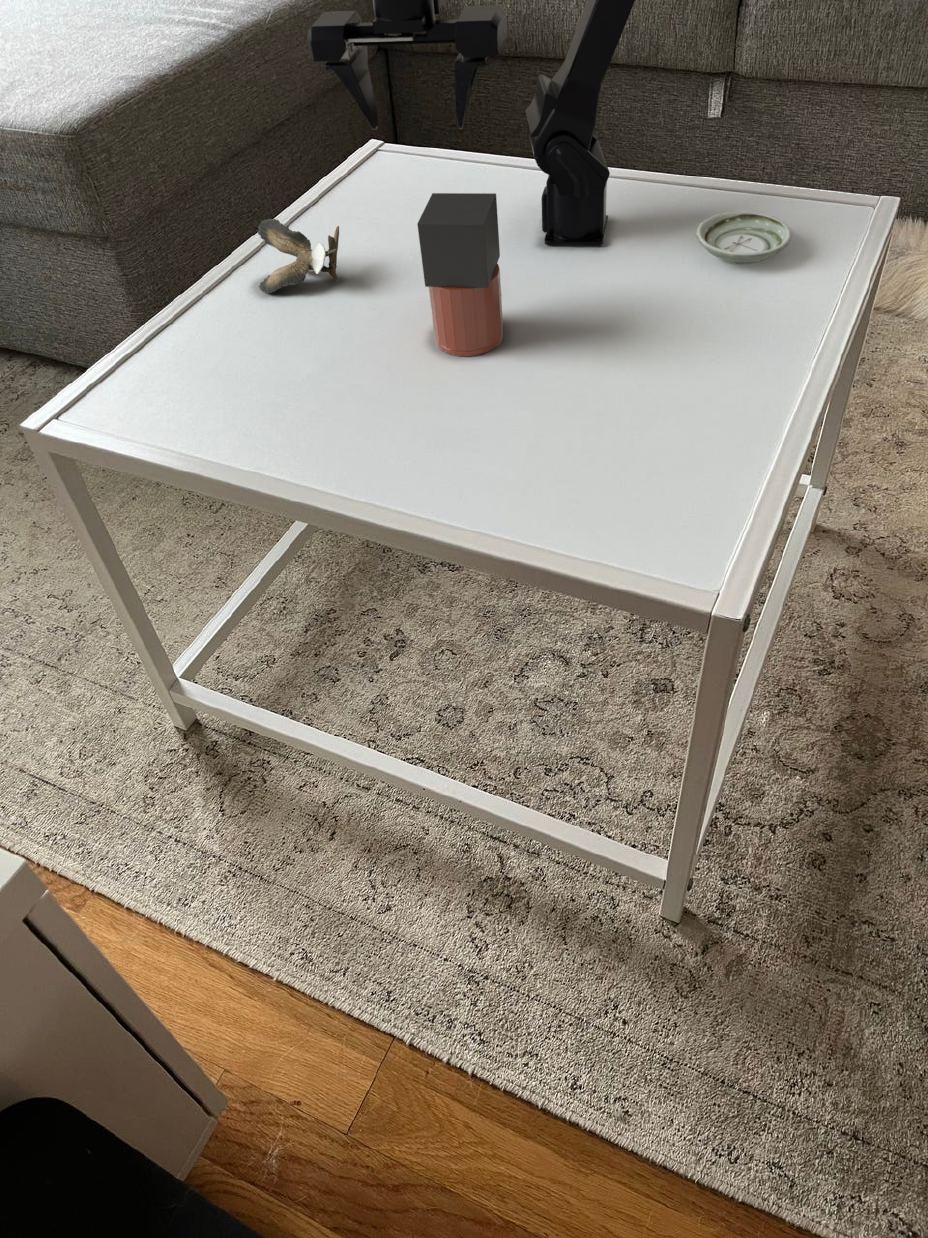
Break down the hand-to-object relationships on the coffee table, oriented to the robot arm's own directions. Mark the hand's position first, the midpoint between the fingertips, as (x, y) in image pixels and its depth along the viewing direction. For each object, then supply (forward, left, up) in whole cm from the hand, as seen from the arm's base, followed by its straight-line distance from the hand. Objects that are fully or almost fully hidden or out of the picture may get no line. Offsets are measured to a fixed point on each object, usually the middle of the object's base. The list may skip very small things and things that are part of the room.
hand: (418, 127), depth 96 cm
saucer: (-34, 0, -13) cm, 36 cm away
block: (-8, +18, -6) cm, 21 cm away
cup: (-8, +18, -13) cm, 24 cm away
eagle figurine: (+13, +8, -13) cm, 20 cm away
